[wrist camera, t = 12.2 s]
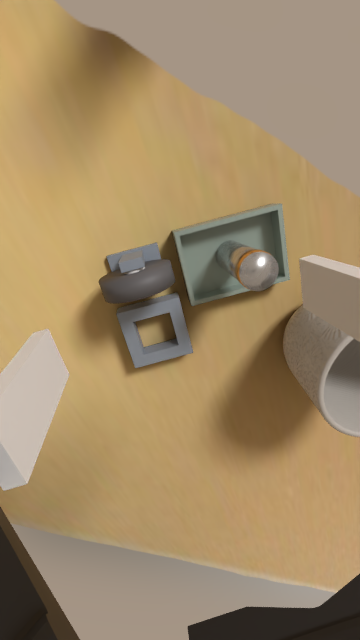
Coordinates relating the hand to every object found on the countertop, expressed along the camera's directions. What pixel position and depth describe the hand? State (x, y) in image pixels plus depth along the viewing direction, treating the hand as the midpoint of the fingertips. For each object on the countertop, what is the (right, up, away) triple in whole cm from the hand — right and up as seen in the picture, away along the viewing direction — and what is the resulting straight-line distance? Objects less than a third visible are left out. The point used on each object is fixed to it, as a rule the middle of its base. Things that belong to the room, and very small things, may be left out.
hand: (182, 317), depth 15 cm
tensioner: (-5, +2, +28) cm, 29 cm away
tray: (+7, +9, +27) cm, 29 cm away
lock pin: (+7, +9, +26) cm, 29 cm away
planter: (+22, -2, +33) cm, 40 cm away
